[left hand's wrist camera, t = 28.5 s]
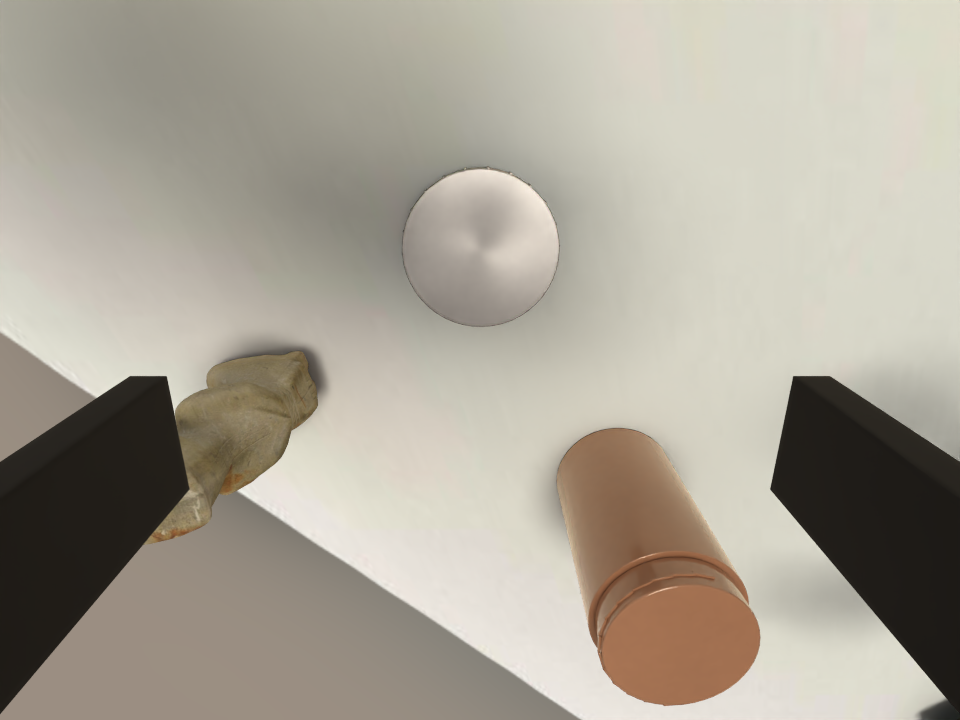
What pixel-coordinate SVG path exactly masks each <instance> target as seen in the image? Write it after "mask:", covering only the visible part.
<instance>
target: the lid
mask: <svg viewBox="0 0 960 720" xmlns="http://www.w3.org/2000/svg"><path fill="white" fill-rule="evenodd" d="M531 187H532V185H530V184H529V183H528V184H527V183H525V182H524V181H523V180H521V179H520V178H518V177H516V176H514V175H512V173H511V172H509V173H508V172H505V171H502V170H498V169H493V168H489V166H487V168H482V167H477V168H468V169H467V168H464V170H459V171H457V172H454V173H451V174H449V175H447V176H446V175H444V176H443V177H442V179H440V180H439V181H437V182H436V183H435V184H433V185H432V186H431V187H430V188H429V189H426V190H425V191H424V192H425V193H424V194H423V195H422V196H421V197H420V198H419V200H418V201H417V202H416V203H415V205H414V207H413V208H411V210H410V211H411V212H410V214H409V217H408V219H407V222H406V225H405V229H404V230H403V240H402V256H403V263H404V267H405V271H406V274H407V276H408V279H409V281H410V283H411V285H412V287H413V289H414V290H415V292H416V293H417V295H418V296H419V297H420V299H421V300H422V301H423V302H424V303H425V304H426V305H427V306H428V307H429V308H431V309H432V310H433V311H434V312H436V313H437V314H439V315H441V316H442V317H444V318H446V319H448V320H450V321H453V322H456V323H459V324H462V325H468V326H477V327H485V326H494V325H499V324H503V323H506V322H509V321H511V320H513V319H515V318H517V317H519V316H521V315H523V314H524V313H526V312H527V311H528V310H530V309H531V308H532V307H533V306H534V305H535V304H536V303H537V302H538V301H539V300H540V299H541V298H542V297H543V295H544V294H545V292H546V291H547V289H548V288H549V286H550V284H551V282H552V280H553V277H554V275H555V272H556V269H557V264H558V260H559V247H560V245H559V236H558V231H557V227H556V225H557V224H556V222H555V220H554V218H553V216H552V214H551V211H550V209H549V208H548V206H547V205H546V204H547V202H546V201H544V200H543V199H542V198H541V197H540V195H539V194H538V193H537V192H536V191H535V190H534V189H533V188H531Z"/></svg>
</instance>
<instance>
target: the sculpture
mask: <svg viewBox="0 0 960 720" xmlns="http://www.w3.org/2000/svg"><path fill="white" fill-rule="evenodd" d="M207 386H208V389H205V390H201V391H199V392H196V393H194V394H192V395H191V396H189V397H187V398H186V399H184V400H183V401H182V402H181V403H180V404H179V405H178V406H177V408H176V410H175V418H176V424H177V429H178V434H179V439H180V444H181V449H182V454H183V459H184V464H185V469H186V474H187V479H188V483H189V488H190V490H189V491H188V492H187V493H186V494H185V496H184V497H183V498H182V499H181V500H180V501H179V503H178V504H177V505H176V506H175V507H174V509H173V510H172V511H171V512H170V513H169V514H168V516H167V517H166V518H165V519H164V520H163V522H162V523H161V524H160V525H159V526H158V528H157V529H156V530H155V531H154V532H153V533H152V535H151V536H150V537H149V538H148V539H147V541H146V542H145V543H144V544H143V545H145V544H152V543H156V542H160V541H164V540H169V539H173V538H176V537H179V536H182V535H185V534H187V533H189V532H191V531H194V530H196V529H198V528H200V527H202V526H204V525H205V524H207V523H208V522H209V521H210V519H211V516H212V509H211V507H212V505H213V504H214V502H215V500H216V498H217V496H218V495H219V494H222V495H229V494H231V493H233V492H235V491H237V490H239V489H240V488H242V487H244V486H246V485H248V484H249V483H251V482H252V481H254V480H255V479H256V478H257V477H258V476H259V475H261V474H262V473H264V472H265V471H266V470H268V469H269V468H270V467H271V466H273V465H274V464H275V463H276V462H277V461H278V460H279V459H280V458H281V457H282V455H283V454H284V452H285V449H286V447H287V445H288V441H289V438H290V434H291V431H292V430H293V429H295V428H297V427H298V426H299V425H301V424H302V423H303V422H305V421H306V420H307V419H308V418H309V417H310V416H311V415H312V414H313V412H314V411H315V409H316V408H317V406H318V399H317V390H316V386H315V383H314V381H313V380H311V377H310V375H309V373H308V362H307V360H306V358H305V355H304V353H303V352H301V351H294V352H290V353H288V354H286V355H261V356H254V357H247V358H240V359H235V360H232V361H228V362H224V363H221V364H218V365H215V366H214V367H213V368H212V369H211V370H210V371H209V372H208V374H207Z"/></svg>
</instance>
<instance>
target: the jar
mask: <svg viewBox="0 0 960 720" xmlns="http://www.w3.org/2000/svg"><path fill="white" fill-rule="evenodd" d="M557 489H558V494H559V498H560V502H561V507H562V511H563V516H564V520H565V525H566V529H567V534H568V538H569V542H570V547H571V551H572V556H573V560H574V565H575V569H576V574H577V578H578V582H579V587H580V591H581V596H582V600H583V605H584V609H585V613H586V618H587V622H588V627H589V631H590V635H591V637H592V640H593V642H594V644H595V645H596V647H597V648H598V650H597V651H598V655H599V658H600V661H601V664H602V667H603V670H604V671H605V672H606V674H607V675H608V676H609V678H610V679H611V680H612V682H613V684H615V685H616V686H618V687H619V688H620V689H622V690H623V691H624V692H626V693H627V694H628V695H631V696H633V697H635V698H637V699H640V700H643V701H644V702H649V703H654V704H661V705H663V706H670V705H684V704H690V703H695V702H699V701H703V700H706V699H708V698H711V697H714V696H716V695H718V694H720V693H722V692H724V691H725V690H727V689H729V688H730V687H732V686H733V685H734V684H735V683H737V682H738V681H739V680H740V679H741V678H742V677H743V676H744V675H745V674H746V673H747V671H748V670H749V669H750V668H751V666H752V664H753V663H754V661H755V659H756V656H757V654H758V650H759V646H760V629H759V625H758V621H757V619H756V617H755V615H754V613H753V611H752V610H751V608H750V606H749V601H748V595H747V591H746V588H745V586H744V584H743V582H742V580H741V579H740V577H739V575H738V574H737V572H736V570H735V569H734V567H733V565H732V564H731V562H730V560H729V559H728V557H727V555H726V554H725V552H724V550H723V549H722V547H721V545H720V544H719V542H718V540H717V539H716V537H715V535H714V534H713V532H712V530H711V529H710V527H709V525H708V524H707V522H706V520H705V519H704V517H703V515H702V514H701V512H700V510H699V509H698V507H697V505H696V504H695V502H694V500H693V499H692V497H691V495H690V494H689V492H688V491H687V489H686V487H685V486H684V484H683V482H682V481H681V479H680V477H679V476H678V474H677V472H676V471H675V469H674V467H673V466H672V464H671V462H670V461H669V459H668V457H667V456H666V454H665V452H664V451H663V449H662V448H661V447H660V446H659V445H658V443H657V442H655V441H654V440H653V439H652V438H650V437H648V436H647V435H645V434H643V433H640V432H638V431H634V430H631V429H624V428H613V429H605V430H601V431H598V432H595V433H592V434H590V435H588V436H586V437H584V438H583V439H581V440H579V441H578V442H577V443H576V444H574V445H573V446H572V447H571V448H570V449H569V451H568V452H567V453H566V455H565V456H564V458H563V459H562V461H561V464H560V466H559V469H558V473H557ZM600 652H601V653H600Z"/></svg>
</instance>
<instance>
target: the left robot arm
mask: <svg viewBox="0 0 960 720" xmlns="http://www.w3.org/2000/svg"><path fill="white" fill-rule="evenodd" d="M189 490H190V488H189V483H188V479H187V474H186V469H185V464H184V459H183V454H182V449H181V444H180V439H179V434H178V430H177V425H176V420H175V415H174V410H173V405H172V400H171V395H170V390H169V385H168V381H167V376H130V377H128V378H127V379H125V380H124V381H122V382H121V383H119V384H118V385H116V386H115V387H113V388H111V389H110V390H108V391H107V392H105V393H104V394H102V395H101V396H99V397H98V398H96V399H95V400H93V401H92V402H90V403H89V404H87V405H86V406H84V407H83V408H81V409H80V410H78V411H77V412H75V413H74V414H72V415H71V416H69V417H68V418H66V419H65V420H63V421H62V422H60V423H58V424H57V425H55V426H54V427H52V428H51V429H49V430H48V431H46V432H45V433H43V434H42V435H40V436H39V437H37V438H36V439H34V440H33V441H31V442H30V443H28V444H27V445H25V446H24V447H22V448H21V449H19V450H18V451H16V452H15V453H13V454H12V455H10V456H8V457H7V458H5V459H4V460H3V461H1V462H0V714H1V712H2V711H3V710H4V709H5V708H6V707H7V705H8V704H9V703H10V702H11V701H12V699H13V698H14V697H15V696H16V695H17V693H18V692H19V691H20V690H21V689H22V688H23V686H24V685H25V684H26V683H27V682H28V680H29V679H30V678H31V677H32V676H33V674H34V673H35V672H36V671H37V670H38V669H39V667H40V666H41V665H42V664H43V663H44V661H45V660H46V659H47V658H48V657H49V656H50V654H51V653H52V652H53V651H54V650H55V648H56V647H57V646H58V645H59V644H60V643H61V641H62V640H63V639H64V638H65V637H66V635H67V634H68V633H69V632H70V631H71V629H72V628H73V627H74V626H75V625H76V624H77V622H78V621H79V620H80V619H81V618H82V616H83V615H84V614H85V613H86V612H87V611H88V609H89V608H90V607H91V606H92V605H93V603H94V602H95V601H96V600H97V599H98V597H99V596H100V595H101V594H102V593H103V592H104V590H105V589H106V588H107V587H108V586H109V584H110V583H111V582H112V581H113V580H114V579H115V577H116V576H117V575H118V574H119V573H120V571H121V570H122V569H123V568H124V567H125V565H126V564H127V563H128V562H129V561H130V560H131V558H132V557H133V556H134V555H135V554H136V552H137V551H138V550H139V549H140V548H141V547H142V545H143V544H144V543H145V542H146V541H147V539H148V538H149V537H150V536H151V535H152V533H153V532H154V531H155V530H156V529H157V528H158V526H159V525H160V524H161V523H162V522H163V520H164V519H165V518H166V517H167V516H168V514H169V513H170V512H171V511H172V510H173V509H174V507H175V506H176V505H177V504H178V503H179V501H180V500H181V499H182V498H183V497H184V496H185V494H186V493H187V492H188V491H189ZM770 490H771V491H772V492H773V493H774V494H775V496H776V497H777V498H778V499H779V500H780V501H781V503H782V504H783V505H784V506H785V507H786V509H787V510H788V511H789V512H790V513H791V514H792V516H793V517H794V518H795V519H796V520H797V522H798V523H799V524H800V525H801V526H802V528H803V529H804V530H805V531H806V532H807V533H808V535H809V536H810V537H811V538H812V539H813V541H814V542H815V543H816V544H817V545H818V547H819V548H820V549H821V550H822V551H823V552H824V554H825V555H826V556H827V557H828V558H829V560H830V561H831V562H832V563H833V564H834V565H835V567H836V568H837V569H838V570H839V571H840V573H841V574H842V575H843V576H844V577H845V579H846V580H847V581H848V582H849V583H850V584H851V586H852V587H853V588H854V589H855V590H856V592H857V593H858V594H859V595H860V596H861V597H862V599H863V600H864V601H865V602H866V603H867V605H868V606H869V607H870V608H871V609H872V611H873V612H874V613H875V614H876V615H877V616H878V618H879V619H880V620H881V621H882V622H883V624H884V625H885V626H886V627H887V628H888V629H889V631H890V632H891V633H892V634H893V635H894V637H895V638H896V639H897V640H898V641H899V643H900V644H901V645H902V646H903V647H904V648H905V650H906V651H907V652H908V653H909V654H910V656H911V657H912V658H913V659H914V660H915V661H916V663H917V664H918V665H919V666H920V667H921V669H922V670H923V671H924V672H925V673H926V675H927V676H928V677H929V678H930V679H931V680H932V682H933V683H934V684H935V685H936V686H937V688H938V689H939V690H940V691H941V692H942V693H943V695H944V696H945V697H946V698H947V699H948V701H949V702H950V703H951V704H952V705H953V707H954V708H955V709H956V710H957V711H958V712H959V714H960V462H959V461H958V460H956V459H955V458H953V457H952V456H950V455H948V454H947V453H945V452H944V451H942V450H941V449H939V448H938V447H936V446H935V445H933V444H932V443H930V442H929V441H927V440H926V439H924V438H923V437H921V436H920V435H918V434H917V433H915V432H914V431H912V430H911V429H909V428H908V427H906V426H905V425H903V424H902V423H900V422H899V421H897V420H895V419H894V418H892V417H891V416H889V415H888V414H886V413H885V412H883V411H882V410H880V409H879V408H877V407H876V406H874V405H873V404H871V403H870V402H868V401H867V400H865V399H864V398H862V397H861V396H859V395H858V394H856V393H855V392H853V391H852V390H850V389H849V388H847V387H845V386H844V385H842V384H841V383H839V382H838V381H836V380H835V379H833V378H832V377H830V376H793V381H792V385H791V390H790V395H789V400H788V405H787V410H786V415H785V420H784V425H783V430H782V434H781V439H780V444H779V449H778V454H777V459H776V464H775V469H774V474H773V479H772V483H771V488H770Z"/></svg>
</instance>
